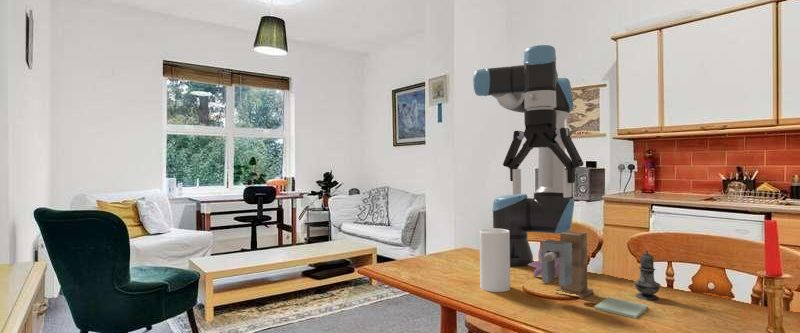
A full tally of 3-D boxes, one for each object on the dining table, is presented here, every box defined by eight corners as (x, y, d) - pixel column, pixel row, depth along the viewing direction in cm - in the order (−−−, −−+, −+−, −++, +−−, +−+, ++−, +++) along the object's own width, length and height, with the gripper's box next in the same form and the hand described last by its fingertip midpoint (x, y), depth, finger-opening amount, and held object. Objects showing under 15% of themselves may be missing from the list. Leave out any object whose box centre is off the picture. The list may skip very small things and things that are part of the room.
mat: (608, 299, 108) (608, 297, 108) (648, 308, 101) (648, 305, 101) (594, 308, 101) (594, 306, 101) (635, 318, 95) (635, 315, 95)
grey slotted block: (549, 278, 110) (548, 239, 110) (572, 282, 105) (571, 242, 105) (541, 281, 107) (541, 241, 107) (565, 286, 103) (564, 245, 102)
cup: (476, 289, 117) (475, 231, 117) (484, 282, 125) (484, 227, 124) (506, 293, 113) (505, 234, 113) (513, 285, 121) (512, 229, 120)
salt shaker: (651, 302, 105) (651, 254, 105) (629, 296, 110) (628, 249, 110) (665, 298, 108) (665, 251, 107) (643, 292, 113) (642, 247, 113)
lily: (580, 284, 124) (571, 252, 129) (570, 277, 115) (561, 243, 120) (539, 292, 130) (532, 261, 134) (527, 286, 121) (520, 253, 125)
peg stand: (566, 287, 118) (566, 229, 118) (592, 292, 113) (592, 232, 113) (533, 304, 105) (532, 239, 105) (560, 311, 100) (560, 243, 100)
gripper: (489, 113, 112) (490, 194, 112) (583, 103, 94) (584, 199, 94) (505, 115, 117) (506, 192, 117) (597, 105, 99) (598, 197, 99)
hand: (541, 195), depth 106 cm, fingers open, 13 cm apart
